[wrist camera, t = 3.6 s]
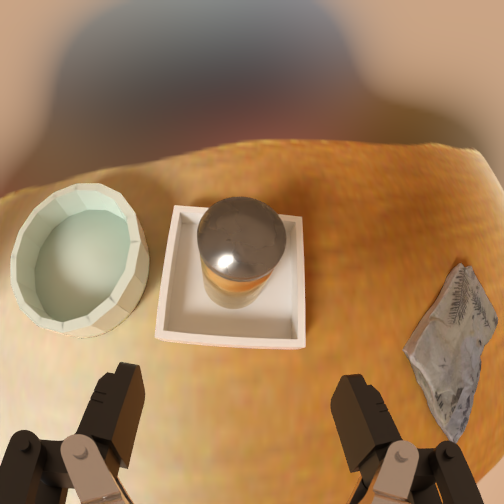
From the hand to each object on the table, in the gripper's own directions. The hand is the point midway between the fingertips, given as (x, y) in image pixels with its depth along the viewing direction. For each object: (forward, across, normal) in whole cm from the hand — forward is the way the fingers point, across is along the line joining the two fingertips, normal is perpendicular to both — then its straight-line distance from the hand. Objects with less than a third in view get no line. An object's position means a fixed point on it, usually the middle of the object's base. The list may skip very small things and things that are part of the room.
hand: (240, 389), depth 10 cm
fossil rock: (+10, -26, +8) cm, 29 cm away
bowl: (+14, +14, +3) cm, 20 cm away
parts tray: (+14, 0, +3) cm, 14 cm away
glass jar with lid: (+14, 0, +2) cm, 14 cm away
